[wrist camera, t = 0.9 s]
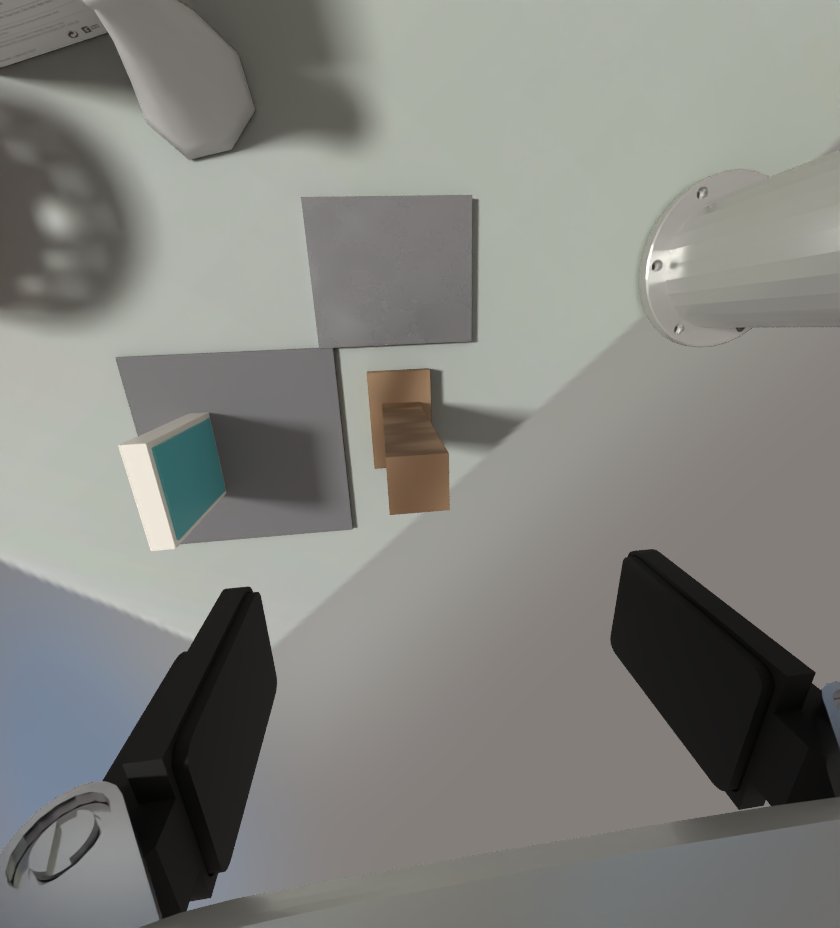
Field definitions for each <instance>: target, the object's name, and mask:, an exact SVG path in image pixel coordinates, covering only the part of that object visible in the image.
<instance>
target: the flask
mask: <svg viewBox="0 0 840 928" xmlns="http://www.w3.org/2000/svg"><path fill="white" fill-rule="evenodd" d="M81 1H82V2H83V3H84V4H85V5H87V6H88V7H89V8H90V9H92V10H94V11H95V13H96V14H97V16H98V17H99V19H100V21H101V22H102V24H103V25H104V27H105V28H106V30H107V32H108V33H109V35H110V36H111V38H112V40H113V41H114V44H115V46H116V48H117V51H118V53H119V55H120V58H121V60H122V62H123V64H124V67H125V69H126V71H127V74H128V76H129V78H130V81H131V83H132V86H133V89H134V91H135V94H136V96H137V99H138V102H139V104H140V107H141V109H142V112H143V114H144V117H145V119H146V121H147V124H148V125H149V126H151V127H152V128H153V129H154V130H155V131H156V132H157V133H159V134H160V135H161V136H162V137H163V138H164V139H166V140H167V141H168V142H169V143H170V144H171V145H173V146H174V147H175V148H176V149H177V150H178V151H179V152H181V153H182V154H183V155H184V156H185V157H186V158H188V159H189V160H190V159H194V158H199V157H203V156H207V155H211V154H216V153H220V152H224V151H228V150H231V149H232V148H233V146H234V144H235V143H236V141H237V140H238V138H239V136H240V135H241V133H242V131H243V130H244V128H245V126H246V125H247V123H248V122H249V120H250V118H251V117H252V115H253V113H254V112H255V107H254V104H253V101H252V98H251V94H250V91H249V88H248V84H247V81H246V78H245V75H244V71H243V68H242V65H241V61H240V58H239V55H238V54H237V53H236V52H235V51H234V50H233V49H232V48H231V47H230V46H229V45H228V44H227V43H226V42H225V41H224V40H223V39H222V38H221V37H220V36H219V35H218V34H217V33H216V32H215V31H214V30H213V29H212V28H211V27H210V26H209V25H208V24H207V23H206V22H205V21H204V20H203V19H202V18H201V17H200V16H199V15H198V14H197V13H196V12H194V11H193V10H191V9H190V8H189V7H187V6H185V5H184V4H182V3H180V2H179V1H177V0H81Z"/></svg>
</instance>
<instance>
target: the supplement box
mask: <svg viewBox="0 0 840 928" xmlns="http://www.w3.org/2000/svg"><path fill="white" fill-rule="evenodd" d="M105 33H108V32H107V30H106V28H105V27H104V25H103V24H102V22H101V21H100V19H99V17H98V16H97V14H96V13H95V11H94V10H92V9H90V8H89V7H88V6H87V5H85V4H84V3H83V2H82V1H81V0H0V68H1V67H4V66H8V65H11V64H14V63H17V62H20V61H23V60H26V59H29V58H32V57H35V56H38V55H41V54H45V53H48V52H51V51H54V50H57V49H60V48H63V47H66V46H69V45H72V44H75V43H78V42H81V41H84V40H87V39H90V38H93V37H96V36H99V35H102V34H105Z"/></svg>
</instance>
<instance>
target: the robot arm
mask: <svg viewBox="0 0 840 928" xmlns="http://www.w3.org/2000/svg"><path fill="white" fill-rule="evenodd" d="M639 289H640V295H641V301H642V305H643V307H644V310H645V313H646V315H647V317H648V319H649V320H650V322H651V323H652V325H653V327H654V328H655V329H656V330H657V331H658V332H659V333H660V334H661V335H662V336H664V337H665V338H667V339H669V340H670V341H672V342H674V343H677V344H681V345H684V346H693V347H710V346H716V345H720V344H723V343H727V342H729V341H731V340H733V339H735V338H738V337H740V336H741V335H743V334H744V333H746V332H747V331H749V330H750V329H752V328H753V327H840V150H838V151H836V152H833V153H830V154H828V155H825V156H823V157H820V158H818V159H815V160H812V161H810V162H807V163H805V164H802V165H800V166H797V167H794V168H792V169H789V170H787V171H784V172H782V173H779V174H776V175H774V176H771V177H769V176H767V175H764V174H762V173H760V172H757V171H754V170H746V169H735V170H727V171H723V172H720V173H718V174H715V175H712V176H709V177H707V178H705V179H703V180H701V181H699V182H697V183H695V184H693V185H692V186H691V187H689V188H688V189H686V190H685V191H684V192H682V193H681V194H680V195H679V196H678V197H677V198H676V199H675V200H674V201H673V202H672V203H671V204H670V205H669V206H668V207H667V208H666V209H665V211H664V212H663V214H662V215H661V216H660V218H659V219H658V221H657V222H656V224H655V226H654V228H653V230H652V232H651V234H650V236H649V238H648V240H647V243H646V246H645V249H644V252H643V255H642V261H641V267H640V278H639ZM611 645H612V648H613V651H614V652H615V654H616V655H617V656H618V658H619V659H620V661H621V662H622V663H623V665H624V666H625V667H626V669H627V670H628V671H629V673H630V674H631V675H632V676H633V678H634V679H635V680H636V682H637V683H638V684H639V686H640V687H641V688H642V690H643V691H644V692H645V694H646V695H647V696H648V698H649V699H650V700H651V702H652V703H653V704H654V706H655V707H656V708H657V710H658V711H659V712H660V714H661V715H662V716H663V718H664V719H665V720H666V722H667V723H668V724H669V726H670V727H671V728H672V730H673V731H674V732H675V734H676V735H677V736H678V738H679V739H680V740H681V741H682V743H683V744H684V746H685V747H686V748H687V750H688V751H689V752H690V754H691V755H692V756H693V757H694V759H695V760H696V762H697V763H698V764H699V765H700V767H701V768H702V769H703V771H704V772H705V773H706V775H707V776H708V778H709V779H710V780H711V782H712V783H713V784H714V785H715V786H716V787H717V788H719V789H720V790H722V791H725V792H726V793H727V795H728V796H729V797H730V799H731V800H732V801H733V803H734V804H735V805H736V806H737V808H738V809H739V810H740V809H745V808H752V807H758V806H763V805H764V803H765V800H767V801H768V803H769V804H770V805H771V806H770V807H763V808H758V809H751V810H745V811H738V812H732V813H726V814H720V815H713V816H707V817H701V818H695V819H689V820H682V821H676V822H670V823H664V824H657V825H652V826H645V827H639V828H633V829H627V830H621V831H615V832H609V833H603V834H597V835H591V836H585V837H580V838H573V839H567V840H561V841H555V842H549V843H543V844H537V845H532V846H525V847H519V848H514V849H508V850H502V851H496V852H490V853H484V854H478V855H472V856H466V857H461V858H455V859H449V860H444V861H438V862H432V863H426V864H420V865H415V866H409V867H403V868H398V869H392V870H386V871H381V872H375V873H369V874H363V875H357V876H352V877H346V878H340V879H334V880H330V881H324V882H319V883H314V884H309V885H304V886H298V887H293V888H288V889H283V890H278V891H273V892H268V893H263V894H258V895H252V896H248V897H242V898H237V899H233V900H229V901H225V902H221V903H217V904H213V905H209V906H205V907H201V908H198V909H193V910H189V911H187V908H188V904H189V901H195V900H201V899H207V898H211V896H212V893H213V889H214V886H215V882H216V879H217V875H218V873H220V872H225V871H226V870H227V868H228V866H229V864H230V861H231V857H232V853H233V850H234V846H235V842H236V839H237V835H238V832H239V828H240V824H241V820H242V817H243V813H244V809H245V805H246V802H247V798H248V794H249V790H250V787H251V783H252V779H253V775H254V772H255V768H256V764H257V761H258V757H259V753H260V750H261V746H262V742H263V738H264V734H265V731H266V727H267V724H268V720H269V716H270V713H271V709H272V705H273V701H274V697H275V694H276V687H277V677H276V672H275V666H274V661H273V656H272V651H271V646H270V641H269V636H268V631H267V625H266V620H265V615H264V610H263V605H262V600H261V596H260V593H259V592H253V591H252V589H251V587H240V588H229V589H224V590H223V591H222V593H221V594H220V596H219V598H218V599H217V601H216V603H215V605H214V606H213V608H212V610H211V612H210V613H209V615H208V617H207V618H206V620H205V622H204V624H203V625H202V627H201V629H200V631H199V632H198V634H197V636H196V637H195V639H194V641H193V643H192V644H191V646H190V648H189V650H188V651H187V652H183V653H181V654H180V655H179V656H178V657H177V658H176V660H175V661H174V663H173V665H172V666H171V668H170V669H169V671H168V673H167V675H166V677H165V678H164V680H163V681H162V683H161V684H160V686H159V688H158V689H157V691H156V693H155V694H154V696H153V698H152V699H151V701H150V703H149V705H148V706H147V708H146V710H145V711H144V713H143V715H142V716H141V718H140V720H139V721H138V723H137V724H136V726H135V728H134V729H133V731H132V733H131V735H130V736H129V738H128V739H127V741H126V743H125V744H124V746H123V748H122V749H121V751H120V753H119V754H118V756H117V758H116V759H115V761H114V763H113V764H112V766H111V768H110V769H109V771H108V772H107V774H106V776H105V778H104V779H103V781H102V782H90V783H88V784H84V785H81V786H78V787H75V788H73V789H71V790H69V791H67V792H66V793H63V794H62V795H60V796H58V797H56V798H55V799H53V800H52V801H51V802H49V803H48V804H46V805H45V806H44V807H42V808H41V809H40V810H38V811H37V812H36V813H35V814H34V815H33V816H32V817H31V818H30V819H29V820H27V821H26V822H25V823H24V824H23V825H22V826H21V827H20V828H19V829H18V830H17V832H16V833H15V834H14V835H13V837H12V838H11V839H10V841H9V842H8V843H7V844H6V846H5V847H4V848H3V850H2V852H1V854H0V928H840V682H837V681H835V682H831V683H827V684H826V685H825V686H824V687H823V688H822V690H820V689H819V688H817V687H816V686H815V685H814V684H812V681H813V678H814V675H815V672H814V671H813V670H812V669H810V668H809V667H807V666H806V665H805V664H804V663H803V662H801V661H800V660H799V659H797V658H796V657H795V656H793V655H792V654H791V653H790V652H788V651H787V650H786V649H784V648H783V647H782V646H780V645H779V644H778V643H777V642H775V641H774V640H773V639H771V638H770V637H769V636H767V635H766V634H765V633H764V632H762V631H761V630H760V629H758V628H757V627H756V626H754V625H753V624H752V623H751V622H749V621H748V620H747V619H745V618H744V617H743V616H741V615H740V614H739V613H737V612H736V611H735V610H734V609H732V608H731V607H730V606H729V605H727V604H726V603H725V602H723V601H722V600H721V599H720V598H718V597H717V596H715V595H714V594H713V593H712V592H710V591H709V590H708V589H707V588H705V587H704V586H702V585H701V584H700V583H699V582H697V581H696V580H695V579H694V578H692V577H691V576H690V575H688V574H687V573H686V572H684V571H683V570H682V569H681V568H679V567H678V566H677V565H675V564H674V563H673V562H671V561H670V560H669V559H668V558H666V557H665V556H664V555H662V554H661V553H660V552H658V551H657V550H654V549H650V550H639V551H632V552H630V553H629V555H628V557H627V558H625V559H624V560H623V564H622V570H621V576H620V583H619V588H618V594H617V601H616V607H615V614H614V619H613V625H612V631H611Z"/></svg>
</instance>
